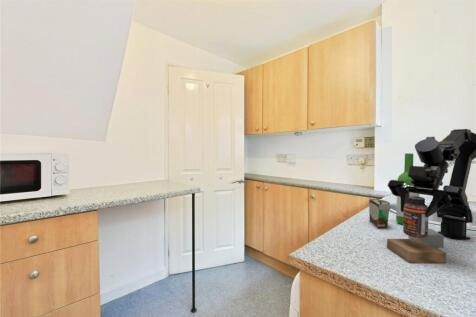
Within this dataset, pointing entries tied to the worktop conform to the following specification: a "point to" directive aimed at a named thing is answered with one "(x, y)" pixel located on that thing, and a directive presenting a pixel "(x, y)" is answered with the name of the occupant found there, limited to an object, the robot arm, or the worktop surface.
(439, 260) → the walnut block
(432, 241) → the slate block
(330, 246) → the worktop surface
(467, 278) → the worktop surface
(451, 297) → the worktop surface
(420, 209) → the supplement bottle
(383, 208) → the food container
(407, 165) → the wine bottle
